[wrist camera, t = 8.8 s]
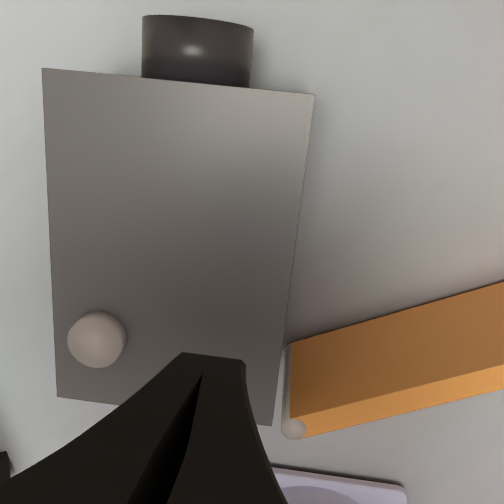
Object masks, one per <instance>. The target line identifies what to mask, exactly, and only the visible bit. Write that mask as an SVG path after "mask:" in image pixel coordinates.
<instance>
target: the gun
mask: <svg viewBox="0 0 504 504" xmlns="http://www.w3.org/2000/svg"><path fill="white" fill-rule="evenodd" d="M9 478H10V469H9V462H8V455H7V452H6V451H4V452H0V483H2V482H4V481H6V480H7V479H9Z"/></svg>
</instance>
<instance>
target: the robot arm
mask: <svg viewBox="0 0 504 504" xmlns="http://www.w3.org/2000/svg"><path fill="white" fill-rule="evenodd" d="M0 504H407V494H406V491H405V489H404V488H403V487H401V486H398V485H393V484H386V483H379V482H372V481H365V480H358V479H351V478H344V477H337V476H330V475H323V474H316V473H309V472H302V471H295V470H288V469H281V468H274V467H271V465H270V463H269V460H268V457H267V455H266V452H265V450H264V447H263V444H262V441H261V439H260V436H259V433H258V429H257V426H256V423H255V419H254V416H253V412H252V409H251V405H250V401H249V395H248V390H247V384H246V364H245V363H244V362H243V361H242V360H240V359H232V358H225V357H217V356H210V355H202V354H194V353H187V352H182V353H180V354H179V355H177V356H176V357H175V358H174V359H173V360H172V361H171V362H170V363H168V364H167V365H166V366H165V367H164V368H163V369H162V370H161V371H160V372H159V373H157V374H156V375H155V376H154V377H153V378H152V379H151V380H150V381H148V382H147V383H146V384H145V385H144V386H143V387H142V388H140V389H139V390H138V391H137V392H136V393H134V394H133V395H132V396H131V397H130V398H128V399H127V400H126V401H125V402H124V403H122V404H121V405H120V406H119V407H117V408H116V409H115V410H114V411H112V412H111V413H110V414H108V415H107V416H106V417H104V418H103V419H102V420H100V421H99V422H97V423H96V424H95V425H93V426H92V427H91V428H89V429H88V430H87V431H85V432H84V433H83V434H81V435H80V436H78V437H77V438H75V439H74V440H73V441H71V442H70V443H68V444H67V445H65V446H64V447H62V448H61V449H59V450H58V451H56V452H54V453H53V454H51V455H49V456H48V457H46V458H44V459H43V460H41V461H39V462H38V463H36V464H35V465H33V466H31V467H29V468H28V469H26V470H24V471H22V472H21V473H19V474H17V475H15V476H13V477H11V478H9V479H7V480H6V481H4V482H2V483H0Z"/></svg>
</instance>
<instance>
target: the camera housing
mask: <svg viewBox="0 0 504 504" xmlns="http://www.w3.org/2000/svg"><path fill="white" fill-rule="evenodd" d="M253 33H254V30H253V29H252V28H250V27H247V26H244V25H240V24H235V23H230V22H225V21H219V20H212V19H205V18H197V17H187V16H174V15H147V16H143V18H142V75H141V77H135V76H125V75H115V74H104V73H94V72H83V71H72V70H61V69H50V68H42V86H43V108H44V129H45V150H46V172H47V193H48V215H49V236H50V257H51V279H52V300H53V321H54V343H55V364H56V386H57V397H62V398H69V399H77V400H84V401H91V402H99V403H106V404H113V405H121V404H122V403H124V402H125V401H126V400H127V399H128V398H130V397H131V396H132V395H133V394H134V393H136V392H137V391H138V390H139V389H140V388H142V387H143V386H144V385H145V384H146V383H147V382H148V381H150V380H151V379H152V378H153V377H154V376H155V375H156V374H157V373H159V372H160V371H161V370H162V369H163V368H164V367H165V366H166V365H167V364H168V363H170V362H171V361H172V360H173V359H174V358H175V357H176V356H177V355H179V354H180V353H182V352H187V353H194V354H202V355H210V356H217V357H225V358H232V359H240V360H242V361H243V362H244V363H245V364H246V384H247V390H248V395H249V401H250V405H251V409H252V412H253V416H254V419H255V423H256V424H258V425H265V426H272V420H273V412H274V405H275V397H276V389H277V382H278V374H279V366H280V358H281V351H282V343H283V335H284V328H285V320H286V312H287V305H288V297H289V289H290V282H291V274H292V266H293V259H294V251H295V243H296V236H297V228H298V220H299V212H300V205H301V197H302V189H303V182H304V174H305V166H306V159H307V151H308V143H309V136H310V128H311V120H312V113H313V105H314V97H315V95H313V94H306V93H296V92H286V91H276V90H266V89H256V88H249V79H250V68H251V56H252V45H253Z"/></svg>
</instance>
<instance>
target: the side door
mask: <svg viewBox="0 0 504 504" xmlns="http://www.w3.org/2000/svg"><path fill="white" fill-rule="evenodd" d="M500 389H504V282H501V283H497V284H494V285H490V286H487V287H483V288H480V289H477V290H473V291H470V292H466V293H463V294H459V295H456V296H452V297H449V298H445V299H442V300H438V301H435V302H431V303H428V304H425V305H421V306H418V307H414V308H411V309H407V310H404V311H400V312H397V313H393V314H390V315H386V316H383V317H379V318H376V319H373V320H369V321H366V322H362V323H359V324H355V325H352V326H348V327H345V328H341V329H338V330H334V331H331V332H327V333H324V334H321V335H317V336H314V337H310V338H307V339H303V340H300V341H296V342H293V343H290V344H288V345H287V346H286V348H285V355H284V376H283V397H282V419H281V432H282V434H283V435H284V436H285V437H286V438H288V439H291V440H297V439H302V438H306V437H310V436H314V435H318V434H322V433H326V432H330V431H334V430H338V429H342V428H346V427H350V426H354V425H358V424H362V423H366V422H371V421H375V420H379V419H383V418H387V417H391V416H395V415H399V414H403V413H407V412H411V411H415V410H419V409H423V408H427V407H431V406H435V405H439V404H443V403H448V402H452V401H456V400H460V399H464V398H468V397H472V396H476V395H480V394H484V393H488V392H492V391H496V390H500Z"/></svg>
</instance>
